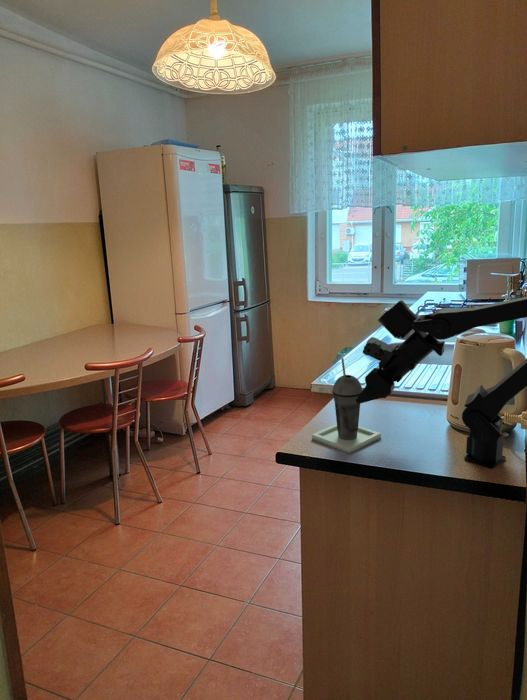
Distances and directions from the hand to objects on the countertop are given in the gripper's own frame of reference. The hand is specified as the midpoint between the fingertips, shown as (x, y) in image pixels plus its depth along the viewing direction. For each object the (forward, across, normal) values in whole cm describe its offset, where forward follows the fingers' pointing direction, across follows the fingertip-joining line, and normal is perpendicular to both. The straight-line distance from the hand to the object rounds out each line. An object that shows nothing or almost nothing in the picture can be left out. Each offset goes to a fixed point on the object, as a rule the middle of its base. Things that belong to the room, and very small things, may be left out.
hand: (362, 395), depth 124 cm
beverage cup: (+11, 0, +5) cm, 12 cm away
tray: (+11, 0, +5) cm, 12 cm away
